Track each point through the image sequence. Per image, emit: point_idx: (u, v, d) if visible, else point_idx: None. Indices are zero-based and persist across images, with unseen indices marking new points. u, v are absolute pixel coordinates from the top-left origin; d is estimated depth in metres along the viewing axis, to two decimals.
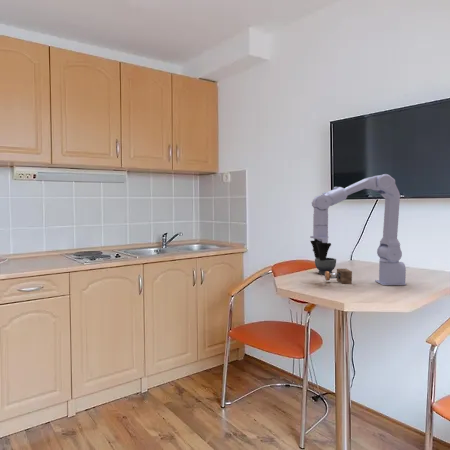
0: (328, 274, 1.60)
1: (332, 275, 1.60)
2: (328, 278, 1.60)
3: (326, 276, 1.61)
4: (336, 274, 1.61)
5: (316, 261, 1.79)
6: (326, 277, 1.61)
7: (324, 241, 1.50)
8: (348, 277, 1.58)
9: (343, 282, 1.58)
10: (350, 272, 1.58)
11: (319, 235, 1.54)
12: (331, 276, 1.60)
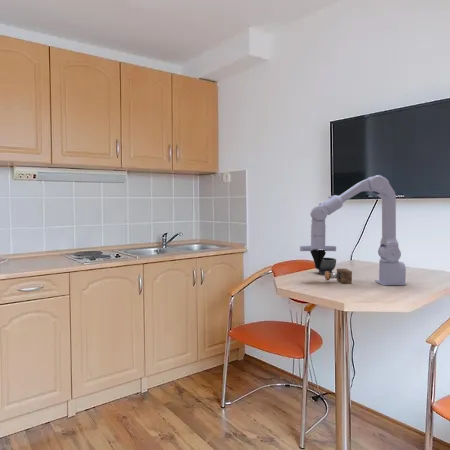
0: (328, 274, 1.60)
1: (332, 275, 1.60)
2: (328, 278, 1.60)
3: (326, 276, 1.61)
4: (336, 274, 1.61)
5: None
6: (326, 277, 1.61)
7: (300, 249, 1.61)
8: (348, 277, 1.58)
9: (343, 282, 1.58)
10: (350, 272, 1.58)
11: None
12: (331, 276, 1.60)
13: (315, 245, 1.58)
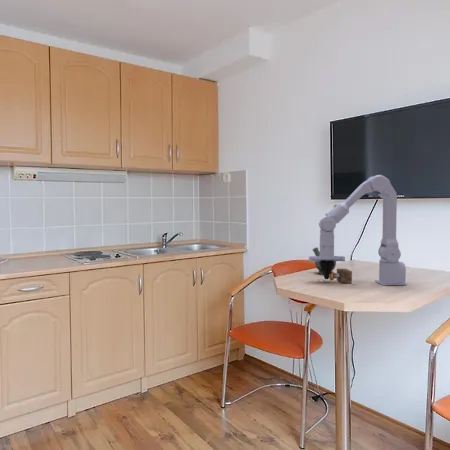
0: (332, 274, 1.60)
1: (336, 275, 1.61)
2: (332, 278, 1.60)
3: (330, 276, 1.61)
4: None
5: (316, 261, 1.79)
6: (330, 277, 1.61)
7: None
8: (348, 277, 1.58)
9: (343, 282, 1.58)
10: (350, 272, 1.58)
11: None
12: (335, 276, 1.60)
13: (324, 255, 1.59)
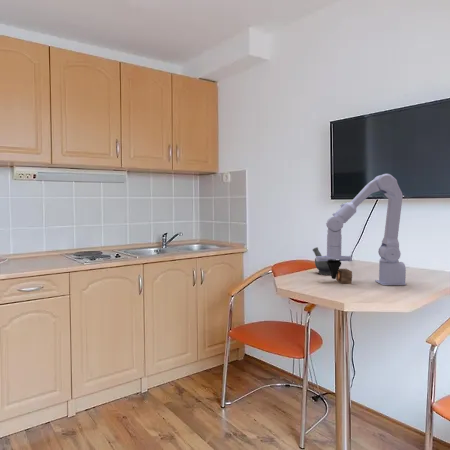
0: (339, 274, 1.60)
1: None
2: (339, 278, 1.60)
3: (337, 276, 1.61)
4: None
5: (316, 261, 1.79)
6: (337, 277, 1.61)
7: (316, 259, 1.61)
8: (348, 277, 1.58)
9: (343, 282, 1.58)
10: (350, 272, 1.58)
11: None
12: None
13: (331, 255, 1.59)
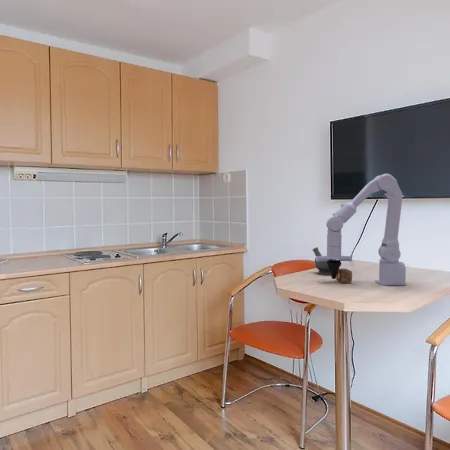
0: (339, 274, 1.60)
1: None
2: (339, 278, 1.60)
3: (337, 276, 1.61)
4: None
5: (316, 261, 1.79)
6: (337, 277, 1.61)
7: (316, 259, 1.61)
8: (348, 277, 1.58)
9: (343, 282, 1.58)
10: (350, 272, 1.58)
11: None
12: None
13: (331, 255, 1.59)
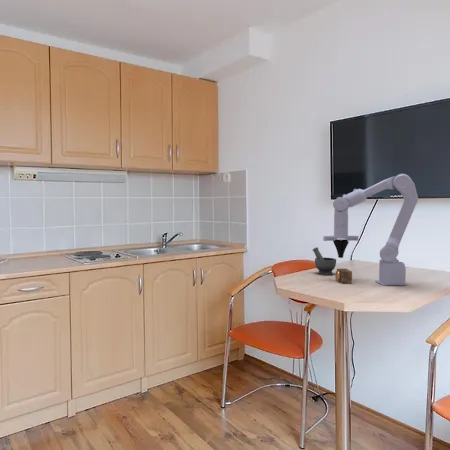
0: (339, 274, 1.60)
1: None
2: (339, 278, 1.60)
3: (337, 276, 1.61)
4: None
5: (316, 261, 1.79)
6: (337, 277, 1.61)
7: (323, 239, 1.67)
8: (348, 277, 1.58)
9: (343, 282, 1.58)
10: (350, 272, 1.58)
11: (334, 234, 1.68)
12: None
13: (338, 235, 1.64)
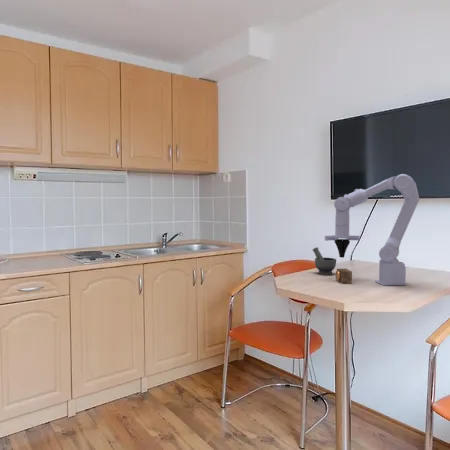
0: (339, 274, 1.60)
1: None
2: (339, 278, 1.60)
3: (337, 276, 1.61)
4: None
5: (316, 261, 1.79)
6: (337, 277, 1.61)
7: (325, 239, 1.67)
8: (348, 277, 1.58)
9: (343, 282, 1.58)
10: (350, 272, 1.58)
11: (335, 234, 1.68)
12: None
13: (340, 234, 1.65)
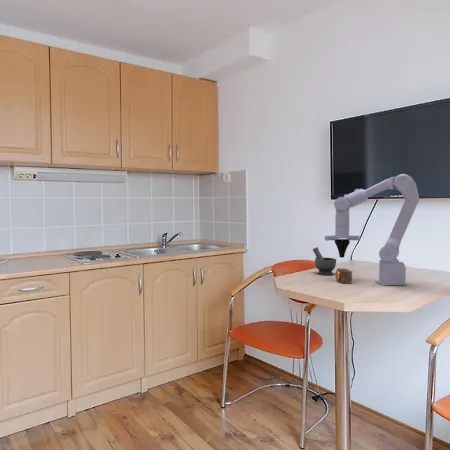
0: (339, 274, 1.60)
1: None
2: (339, 278, 1.60)
3: (337, 276, 1.61)
4: None
5: (316, 261, 1.79)
6: (337, 277, 1.61)
7: (325, 239, 1.67)
8: (348, 277, 1.58)
9: (343, 282, 1.58)
10: (350, 272, 1.58)
11: (335, 234, 1.68)
12: None
13: (340, 234, 1.65)
